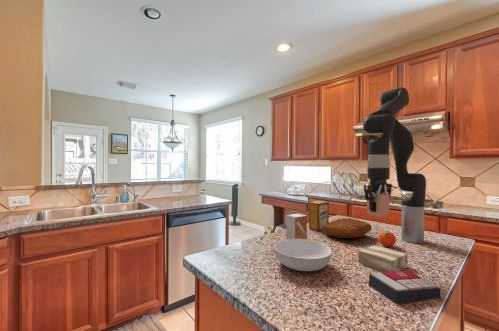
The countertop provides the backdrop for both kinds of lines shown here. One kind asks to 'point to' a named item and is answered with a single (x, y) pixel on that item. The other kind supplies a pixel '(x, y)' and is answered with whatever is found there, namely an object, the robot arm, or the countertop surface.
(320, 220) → the baking soda box
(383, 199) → the terracotta block
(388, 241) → the clementine
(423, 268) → the countertop surface
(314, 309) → the countertop surface
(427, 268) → the countertop surface
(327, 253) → the serving bowl
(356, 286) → the countertop surface
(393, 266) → the birch block
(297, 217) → the small box
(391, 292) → the grey and red box
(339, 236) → the clay tablet
